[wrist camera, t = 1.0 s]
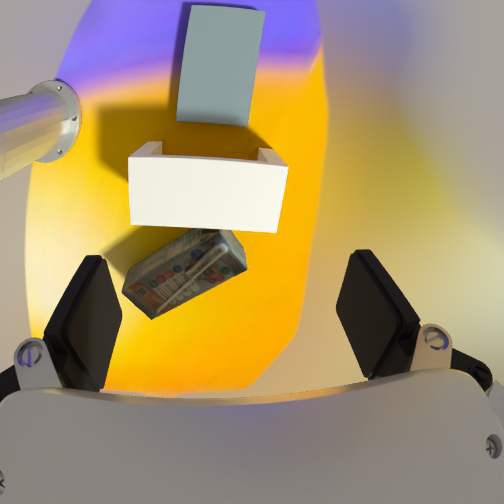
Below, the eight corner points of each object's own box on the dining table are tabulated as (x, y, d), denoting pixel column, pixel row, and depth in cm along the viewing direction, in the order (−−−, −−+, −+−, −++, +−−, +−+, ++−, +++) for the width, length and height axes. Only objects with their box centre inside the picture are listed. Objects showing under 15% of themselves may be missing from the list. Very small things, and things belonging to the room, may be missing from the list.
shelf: (148, 195, 38) (131, 224, 30) (148, 141, 34) (128, 157, 26) (264, 202, 41) (276, 232, 33) (273, 149, 37) (288, 167, 29)
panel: (178, 119, 33) (175, 121, 31) (193, 9, 25) (191, 5, 23) (245, 124, 35) (247, 126, 33) (262, 16, 26) (265, 11, 24)
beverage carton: (247, 249, 45) (251, 274, 40) (156, 298, 49) (150, 324, 43) (219, 210, 41) (220, 232, 36) (126, 268, 45) (116, 293, 39)
